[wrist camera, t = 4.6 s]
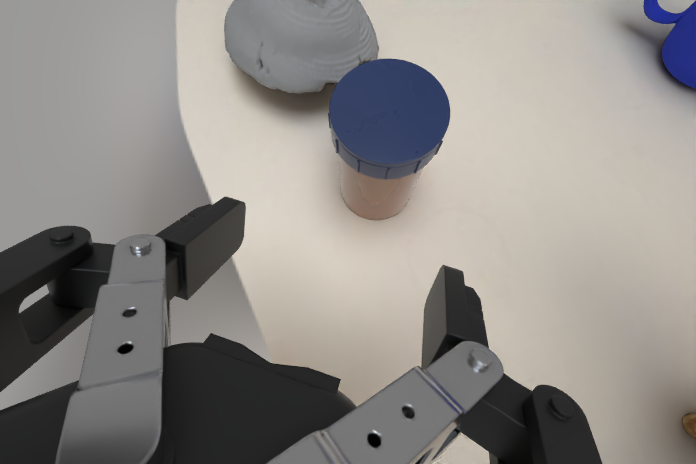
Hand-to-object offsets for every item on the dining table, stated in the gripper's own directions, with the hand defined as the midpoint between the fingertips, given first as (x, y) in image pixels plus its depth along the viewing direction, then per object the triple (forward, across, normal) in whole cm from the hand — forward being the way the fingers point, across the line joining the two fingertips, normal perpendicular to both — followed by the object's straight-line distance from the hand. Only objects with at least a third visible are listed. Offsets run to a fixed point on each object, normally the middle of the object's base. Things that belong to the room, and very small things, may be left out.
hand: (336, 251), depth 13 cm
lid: (+7, 0, -4) cm, 9 cm away
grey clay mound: (+21, +9, -4) cm, 23 cm away
